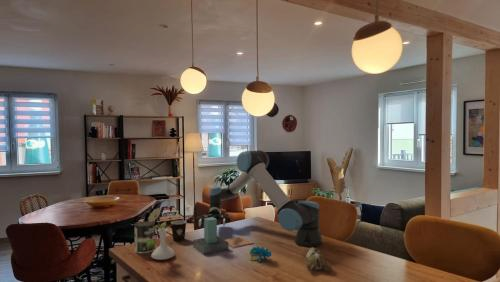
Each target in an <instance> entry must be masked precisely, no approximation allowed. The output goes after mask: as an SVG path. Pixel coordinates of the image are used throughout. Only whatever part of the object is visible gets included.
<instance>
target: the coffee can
mask: <svg viewBox="0 0 500 282" xmlns="http://www.w3.org/2000/svg"><path fill="white" fill-rule="evenodd" d="M155 225H156V223H155V221H153V222H151V221H150V222H149V221H148V220H147V221H144V220H143V221H138V222H135V223H134V224H133V226H134V253H136V254H148V253H149V254H150V253H152V252H153V251H154V250H155V249H156V248H155V247H156V245H155V239H156V238H155V230H156V229H152V228H153V227H154V226H155Z"/></svg>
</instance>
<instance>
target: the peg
mask: <svg viewBox="0 0 500 282" xmlns="http://www.w3.org/2000/svg"><path fill="white" fill-rule="evenodd" d="M217 222H218V221H217V219H216V218H213V217H210V218H204V222H203V232H204V234H203V238H204V242H206V243H207V244H210V243H215V242H217V236H218V232H217V231H218V226H217V225H218V223H217Z"/></svg>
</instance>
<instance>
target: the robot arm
mask: <svg viewBox="0 0 500 282" xmlns="http://www.w3.org/2000/svg"><path fill="white" fill-rule="evenodd" d="M269 165H270V158H269V155H268V154H267V152H266V151H263V150H245V151H241V152H240V153H239V154H238V156H237V158H236V166H237V167H236V168H237V170H239V171H240V172H241V173H240V174H239V175H238V177H236V178H235V179H234V180H233V181H232V182H231V183H230V184H229V185H228V186H227V187H224V188H222V186H211V187H210V188H209V211H208V213H207V215H206V214H204V213H203V214H202V215H199V216H197V217H195V222H194V223H196V224H198V227H201V225H202V223H204V218H210V217H213V218H216V219H217V222H222V223H223V224H222V225H223V227H225V225H226V224H228V223H231V217H229V216H227V215H226V214H225V213H224V214H222V215H221V213H222V210H223V209H222V201H225V200H230V199H231V200H232V199H235V198H237V197H238V195H239V192H240V191H241V190H243V188H245V186H247V184H248V183H250V182H251V181H252V180H253V179H254V181H255V182H256V183H257V185H258V186H259V187H260V189H262V191H263V193H264V194H265V195H266V196H267V198H268V199H269V200H270V202H271V203H272V204H273V205H274V207H275V208H276V214H277V215H278V216H277V219H278V220H277V221H278V223H279V225H280V227H281V228H282V229H284V230H285V231H288V232H293V231H296V234H295V236H294V243H295V244H296V245H298V246H301V247H305V248H306V247H307V248H312V247H313V248H315V247H320V246H322V245H323V238H322V234H321V231H320V204H319V203H318V202H316V201H312V200H311V201H310V200H298V201H297V202H296V201H295V199H290V198H289V196H288V195H287V194H286V193H285V192H284V190H283V189H282V187H280V185H279V184H278V183H277V181H276V180H275V179H274V178H273V176H272V175H271V174H270V173H269V171H268V170H267V168H268V166H269Z"/></svg>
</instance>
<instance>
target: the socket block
mask: <svg viewBox="0 0 500 282" xmlns="http://www.w3.org/2000/svg"><path fill="white" fill-rule="evenodd" d="M225 240H226V239H224V238H221V237H220V236H218V235H217V242H215V243H210V244H207V243H206V242H204V237H202V238H197V239H193V240H192V247H193V248H194V249H195V250H196V251H197V252H198V253H200V254H202V256H206V255H212V254H216V253H221V252H226V251H229V250H230V249H229V247H230V246H229V242H227V241H225Z"/></svg>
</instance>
